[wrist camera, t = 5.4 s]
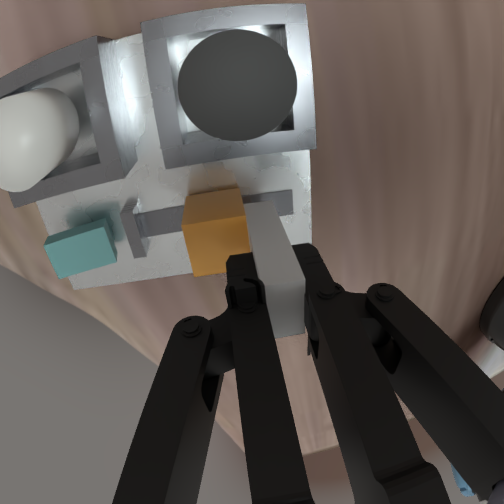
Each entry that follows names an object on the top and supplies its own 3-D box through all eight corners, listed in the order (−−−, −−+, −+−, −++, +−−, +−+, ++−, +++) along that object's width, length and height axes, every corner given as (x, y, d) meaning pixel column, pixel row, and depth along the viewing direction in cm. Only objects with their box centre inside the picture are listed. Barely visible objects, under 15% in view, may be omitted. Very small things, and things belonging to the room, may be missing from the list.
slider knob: (245, 234, 19) (252, 268, 16) (195, 241, 19) (194, 277, 16) (239, 187, 17) (245, 215, 15) (186, 196, 17) (181, 225, 14)
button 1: (88, 156, 13) (62, 178, 10) (24, 176, 13) (-7, 201, 10) (70, 75, 11) (38, 80, 8) (5, 104, 10) (-32, 117, 8)
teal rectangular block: (117, 252, 18) (116, 262, 17) (62, 268, 18) (59, 279, 17) (105, 217, 17) (104, 226, 16) (47, 236, 16) (43, 245, 15)
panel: (297, 225, 24) (325, 281, 19) (88, 259, 24) (61, 318, 18) (282, 23, 16) (316, 3, 10) (35, 79, 15) (-25, 92, 10)
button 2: (283, 120, 13) (301, 134, 11) (192, 133, 13) (187, 149, 10) (275, 34, 11) (292, 25, 8) (179, 45, 11) (170, 38, 8)
